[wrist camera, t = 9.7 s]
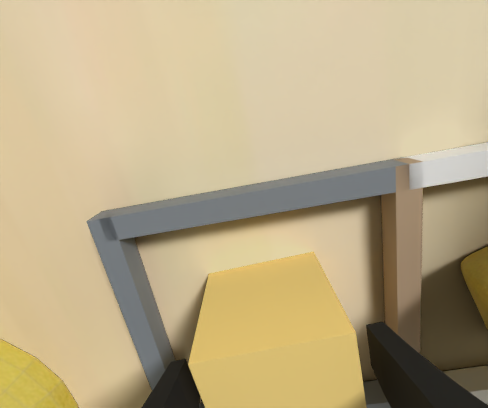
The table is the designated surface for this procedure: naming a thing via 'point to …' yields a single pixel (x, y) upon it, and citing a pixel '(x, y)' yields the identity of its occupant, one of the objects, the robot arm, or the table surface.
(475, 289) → the flower pot
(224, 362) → the ochre block
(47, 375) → the handbell
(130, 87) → the table surface
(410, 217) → the sorting board
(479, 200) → the table surface
